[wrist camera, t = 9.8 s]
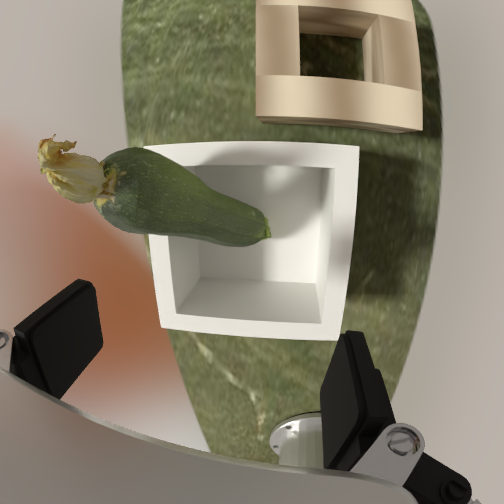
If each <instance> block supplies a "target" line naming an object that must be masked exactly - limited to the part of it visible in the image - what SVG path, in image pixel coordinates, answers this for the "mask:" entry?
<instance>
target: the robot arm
mask: <svg viewBox="0 0 504 504" xmlns="http://www.w3.org/2000/svg"><path fill="white" fill-rule="evenodd" d="M14 332H15V336H14V337H12V335H11V333H10V332H8V331H7V330H3V329H0V504H481V503H480V502H479V501H478V500H477V499H476V500H475V501H473V500H472V499H471V495H472V489H471V486H470V483H469V482H468V480H467V479H466V478H465V477H463V476H462V475H460V474H459V473H457V472H455V471H453V470H452V469H450V468H448V467H447V466H445V465H443V464H442V463H440V462H439V461H437V460H435V459H433V458H432V457H430V456H429V455H427V454H426V453H424V452H423V450H424V447H425V442H424V438H423V436H422V435H421V433H420V432H419V431H418V430H417V429H416V428H414V427H413V426H410V425H408V424H404V423H396V421H395V418H394V414H393V411H392V407H391V404H390V400H389V397H388V394H387V391H386V387H385V384H384V381H383V378H382V375H381V372H380V370H379V369H375V368H374V364H373V361H372V358H371V355H370V352H369V349H368V346H367V343H366V340H365V337H364V334H363V332H359V331H350V330H347V331H346V333H345V334H340V336H339V339H338V342H337V345H336V348H335V351H334V354H333V356H332V359H331V362H330V365H329V368H328V370H327V373H326V376H325V378H324V381H323V384H322V386H321V390H320V406H321V413H307V414H302V415H298V416H294V417H291V418H289V419H287V420H284V421H283V422H281V423H280V424H278V425H277V426H276V427H275V428H274V429H273V431H272V432H271V435H270V446H271V448H272V450H273V451H274V452H275V453H276V454H278V455H279V464H272V463H264V462H258V461H251V460H245V459H239V458H233V457H228V456H223V455H218V454H213V453H209V452H204V451H200V450H195V449H192V448H188V447H184V446H180V445H176V444H173V443H169V442H166V441H163V440H159V439H156V438H153V437H150V436H146V435H144V434H141V433H138V432H135V431H132V430H129V429H127V428H124V427H121V426H118V425H116V424H113V423H111V422H108V421H106V420H103V419H101V418H98V417H96V416H94V415H91V414H89V413H87V412H84V411H82V410H80V409H78V408H76V407H74V406H71V405H69V404H67V403H65V402H63V401H61V400H60V399H61V398H62V396H63V395H64V394H65V393H66V391H67V390H68V389H69V388H70V386H71V385H72V384H73V383H74V381H75V380H76V379H77V378H78V376H79V375H80V374H81V373H82V371H83V370H84V369H85V368H86V367H87V365H88V364H89V363H90V362H91V361H92V359H93V358H94V357H95V356H96V355H97V353H98V352H99V351H100V349H101V348H102V346H103V337H102V332H101V325H100V318H99V312H98V305H97V297H96V290H95V287H94V286H93V285H92V283H91V282H89V281H85V280H82V279H77V280H76V281H74V282H73V283H72V284H70V285H69V286H67V287H66V288H65V289H63V290H62V291H61V292H59V293H58V294H57V295H55V296H54V297H53V298H51V299H50V300H49V301H47V302H46V303H45V304H43V305H42V306H41V307H39V308H38V309H37V310H36V311H34V312H33V313H32V314H30V315H29V316H28V317H27V318H26V319H24V320H23V321H22V322H21V323H19V324H18V325H17V326H16V327H14Z"/></svg>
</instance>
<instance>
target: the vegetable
mask: <svg viewBox="0 0 504 504" xmlns="http://www.w3.org/2000/svg"><path fill="white" fill-rule="evenodd" d="M55 135H56V134H54V135H53V137H54V136H55ZM53 137H52V138H50V139H44V140H41V141H40V143H39V150H38V152H39V154H38V159H39V161H40V166H41V174H44V173H46V174H47V178H48V180H49V183H50V184H52V185H53V186H54V189H55V190H56V191H57V192H59V193H60V195H62V196H63V197H64V198H66V199H69V200H71V201H74V202H76V203H87V202H91V201H93V202H94V205H95V207H96V209H97V210H98V212H99V213H100V214H101V215H102V216H103V217H104V219H106V220H107V221H108V222H110V223H111V224H112V225H114V226H115V227H117V228H119V229H121V230H123V231H126V232H130V233H137V234H154V235H160V236H180V237H186V238H192V239H198V240H203V241H207V242H210V243H214V244H218V245H222V246H230V247H247V246H250V245H254V244H256V243H258V242H259V241H262V240H265V239H268V238H271V232H270V227H269V225H268V219H267V218H266V217H264V214H263V213H262V212H261V211H260V210H259V209H257V208H255V207H252V206H250V205H248V204H245V203H243V202H241V201H239V200H236V199H234V198H231V197H229V196H226V195H224V194H221V193H219V192H217V191H215V190H213V189H211V188H210V187H208V186H207V185H206V184H205V183H204V182H203V181H202V180H201V179H200V178H199V177H197V176H196V175H195V174H193V173H192V172H190V171H188V170H187V169H185V168H184V167H183V166H181V165H180V164H178V163H176V162H174V161H173V160H171V159H169V158H167V157H165V156H163V155H161V154H159V153H156V152H154V151H151V150H149V149H145V148H138V147H134V148H127V149H124V150H121V151H117V152H115V153H113V154H111V155H109V156H108V157H106V158H105V159H104V160H103V161H101V162H100V163H99V162H98V161H97V160H96V159H94V158H92V157H89V156H84V155H79V154H76V153H64V154H61V153H62V151H61V150H60V149H63V151H65V152H67V151H69V150H70V149H71V148H74V147H75V144H76V141H75V142H74V143H71V142H69V141H65V142H64V143H63V142H54V141H52V140H53Z"/></svg>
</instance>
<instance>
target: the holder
mask: <svg viewBox="0 0 504 504" xmlns="http://www.w3.org/2000/svg"><path fill="white" fill-rule="evenodd" d="M299 33H304V34H320V35H332V36H342V37H350V38H358V39H362V48H363V64H364V81H357V80H349V79H339V78H328V77H313V76H300V47H299ZM256 117H257V118H258V119H259V120H260V121H261V122H262V123H263V124H303V125H321V126H335V127H347V128H357V129H366V130H375V131H383V132H390V133H403V132H412V131H423V111H422V84H421V69H420V58H419V48H418V40H417V32H416V25H415V19H414V13H413V8H412V2H411V0H256Z"/></svg>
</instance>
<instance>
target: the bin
mask: <svg viewBox="0 0 504 504" xmlns="http://www.w3.org/2000/svg"><path fill="white" fill-rule="evenodd" d="M144 148H145V149H149V150H151V151H154V152H156V153H159V154H161V155H163V156H165V157H167V158H169V159H171V160H173V161H174V162H176V163H178V164H180V165H181V166H183V167H184V168H185V169H187V170H188V171H190V172H192V173H193V174H195V175H196V176H197V177H199V178H200V179H201V180H202V181H203V182H204V183H205V184H206V185H207V186H208V187H210V188H211V189H213V190H215V191H217V192H219V193H221V194H224V195H226V196H229V197H231V198H234V199H236V200H239V201H241V202H243V203H245V204H248V205H250V206H252V207H255V208H257V209H259V210H260V211H261V212H262V213H263V214H264V217H266V218H267V219H268V225H269V227H270V232H271V238H268V239H265V240H262V241H259V242H258V243H256V244H254V245H250V246H247V247H230V246H222V245H218V244H214V243H210V242H207V241H203V240H198V239H192V238H186V237H180V236H160V235H154V234H149V242H150V252H151V261H152V269H153V277H154V284H155V291H156V298H157V304H158V311H159V317H160V323H161V327H162V328H169V329H177V330H185V331H194V332H203V333H213V334H223V335H235V336H247V337H262V338H279V339H301V340H338V339H339V334H340V329H341V323H342V317H343V311H344V305H345V299H346V292H347V285H348V278H349V270H350V262H351V254H352V245H353V236H354V225H355V214H356V202H357V187H358V168H359V146H349V145H337V144H323V143H304V142H274V141H231V142H200V143H182V144H168V145H155V146H145V147H144Z"/></svg>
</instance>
